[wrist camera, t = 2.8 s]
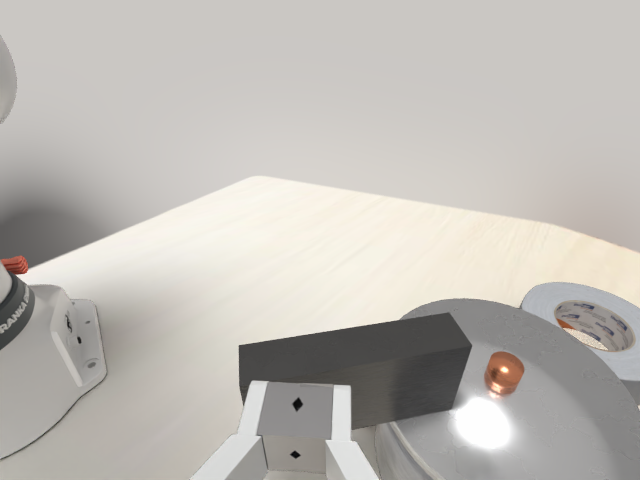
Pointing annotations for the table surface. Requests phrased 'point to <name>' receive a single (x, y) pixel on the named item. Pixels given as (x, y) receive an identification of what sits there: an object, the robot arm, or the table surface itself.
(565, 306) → the tape roll
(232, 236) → the table surface
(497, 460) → the lid
